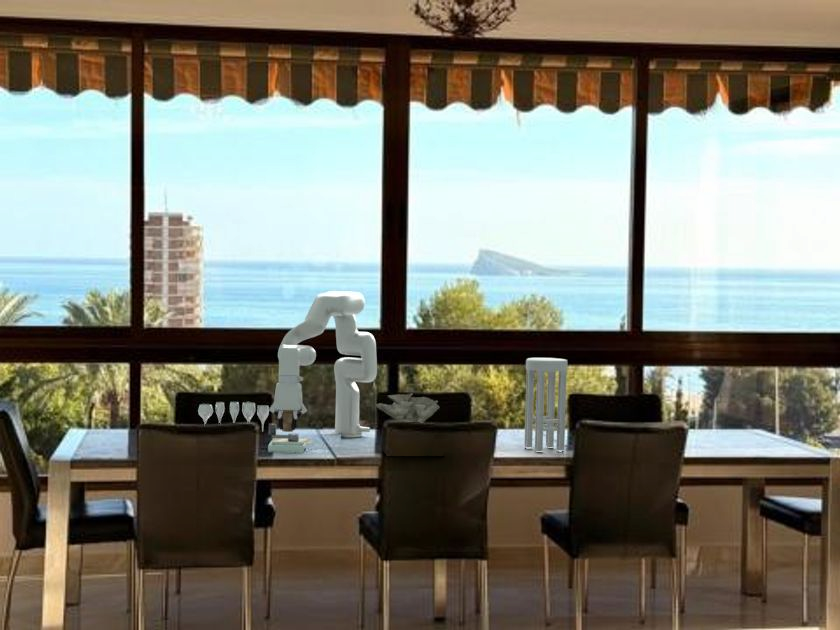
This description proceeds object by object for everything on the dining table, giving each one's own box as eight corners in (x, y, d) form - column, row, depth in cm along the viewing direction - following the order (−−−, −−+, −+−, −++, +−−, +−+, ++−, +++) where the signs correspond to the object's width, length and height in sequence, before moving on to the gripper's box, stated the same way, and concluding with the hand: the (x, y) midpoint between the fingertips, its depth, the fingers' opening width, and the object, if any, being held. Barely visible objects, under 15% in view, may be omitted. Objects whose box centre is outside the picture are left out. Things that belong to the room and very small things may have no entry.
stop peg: (293, 430, 459) (293, 411, 459) (292, 431, 455) (292, 412, 455) (282, 430, 459) (283, 411, 459) (281, 431, 455) (282, 412, 455)
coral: (376, 456, 449) (377, 397, 448) (372, 448, 469) (374, 391, 468) (444, 457, 451) (446, 398, 450) (438, 449, 471) (439, 392, 471)
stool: (517, 448, 479) (519, 357, 477) (553, 446, 484) (555, 357, 483) (534, 454, 464) (537, 360, 463) (571, 452, 470) (574, 360, 468)
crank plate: (312, 442, 478) (312, 438, 478) (309, 448, 463) (309, 444, 463) (273, 441, 478) (273, 437, 478) (269, 447, 463) (269, 443, 463)
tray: (306, 448, 462) (306, 442, 462) (303, 453, 452) (303, 446, 452) (271, 448, 462) (271, 441, 462) (268, 452, 452) (268, 445, 452)
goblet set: (268, 434, 498) (269, 401, 498) (267, 436, 493) (268, 403, 492) (198, 433, 497) (199, 400, 496) (196, 435, 491) (197, 402, 490)
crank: (299, 440, 471) (299, 424, 471) (298, 442, 467) (298, 425, 467) (269, 439, 471) (269, 423, 471) (267, 441, 467) (268, 424, 467)
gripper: (312, 379, 460) (311, 428, 461) (267, 378, 460) (266, 427, 461) (310, 381, 453) (309, 431, 453) (264, 380, 453) (263, 430, 453)
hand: (287, 428), depth 457 cm, fingers closed on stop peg, 4 cm apart
